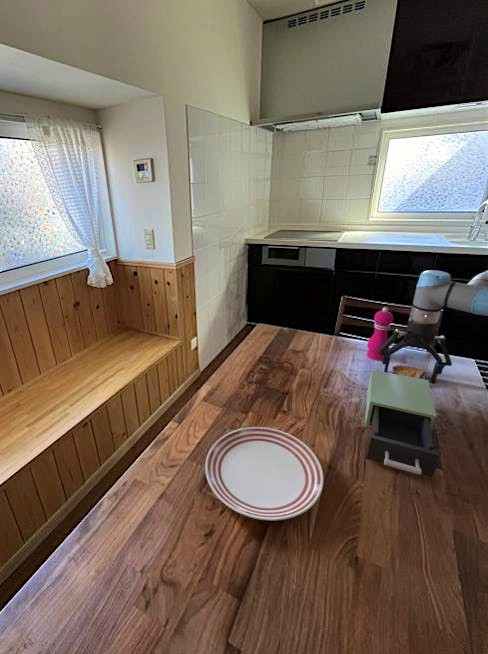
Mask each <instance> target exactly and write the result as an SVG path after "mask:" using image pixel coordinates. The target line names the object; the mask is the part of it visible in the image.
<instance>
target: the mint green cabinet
mask: <svg viewBox="0 0 488 654" xmlns="http://www.w3.org/2000/svg"><path fill="white" fill-rule="evenodd" d="M366 390H367V391H366V399H365V401H366V402H365V403H366V404H365V421H364V427H365V428H370V429H371V422H372V415H373V410H374V405H376V406H381V407H385V408H390V409H394V410H399V411H403V412H408V413H412V414H417V415H421V416H426V417H428V418H429V424H430V429H431V433H432V432H433V428H434V425H435V422H436V418H437V413H436V408H435V403H434V398H433V393H432V389H431V384H430V380H429V379H419V378H413V377H408V376H403V375H397V374H395V373H391V372H387V373H386V372H384V371H382V370H381V371H380V370H376V369H375V370H374V369H371V371H370V375H369V381H368V385H367V389H366Z"/></svg>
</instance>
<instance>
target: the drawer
mask: <svg viewBox="0 0 488 654" xmlns="http://www.w3.org/2000/svg"><path fill="white" fill-rule="evenodd" d="M368 442H369V443H368V446H367V451H366V457H365V458H366V460H369V461H373V462H376V463H380V464H383V465H384V466H387V467H390V468H394V469H397V470H401V471H403V472H407V473H410V474H411V473H412V474H415V475H418V476H424V477H428V478H431V479H433V478H434V475H435V473H436V469H437V466H438V463H439V460H440V457H441V453H440V451H437V450H434V448H435V446H434V441H433V435H432V432H431V429H430V424H429V418H428V417H426V416H421V415H417V414H412V413H408V412H403V411H399V410H394V409H390V408H385V407H381V406H376V405H374V410H373V415H372V422H371V428H370V437H369V441H368Z"/></svg>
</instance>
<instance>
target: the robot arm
mask: <svg viewBox="0 0 488 654" xmlns="http://www.w3.org/2000/svg"><path fill="white" fill-rule="evenodd" d="M451 277H452V276H451V274H450V273H448V272H446V271H442V270H434V269H433V270H429V269H428V270H425V271H423V272H421V273H420V275H419V278H418V281H417V284H416V288H415V291H414V295H413V296H414V297H413V300H412V301H413V302H412V305H411V309H410V312H409V318H408V321H407V324H406V329H405V331H401V330H399V329H398V328H395V329H394V330H393V333H392V335H391V336H389V338H388V340H387V341H386V342H385V343H384V344H383V345H382V346H381V347H380V348H379V354H382V355H383V360H381V361H382V364H383V365H384V367H383V372H386V373H388V370H389V365H390V362H391V355H392V356H393V354H395V353H396V352H398V351H400V350H402V349H404V348H406V347H408V346H410V347H412V348H418V349H419V348H420V349H423V348H426V350H427V351H428V352H429V353H430V354H431V356H432V357H433V358H434V360H435V363H434V367H433V370H432V373H431V375H430V376H431V377H430V381H431V384H435V383H436V380H437V377H438V375H442V373H443V370H444V368H446V366H448V367H452V366H453V363H452V360H451V357H450V354H449V352H448V348H447V346H446V344H447V343H446V341H447V340H446V337H445V335H443V334H440V336H439V335H437V336H436V335H435V333H436V330H437V327H438V322H439V320H440V317H441V312H442V308H443V307H444V308H449V309H453V310H457V311H461V312H466V313H470V314H473V315H478V316H479V315H480V316H485V317H488V270H486V271H484V272H481V273H478V274H477V275H475V276H473V277H472V279H471V280H470V281H468V282H467V283H461V282H457V281H453V280H451ZM401 337H403V338H402V339H401V340H400V341H399V342H397V343H395V342H396V341H397V339H400V338H401ZM435 341H436V343H437V344H439V346H440V349H441V351H442V354H443V357H444V359H443V358H442V356H440V354H439V353H438V352H437V350H436V349H435V348H434V346H433V345H432V344H433V342H435ZM394 343H395V344H394ZM393 344H394V345H393ZM388 348H389V349H388Z"/></svg>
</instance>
